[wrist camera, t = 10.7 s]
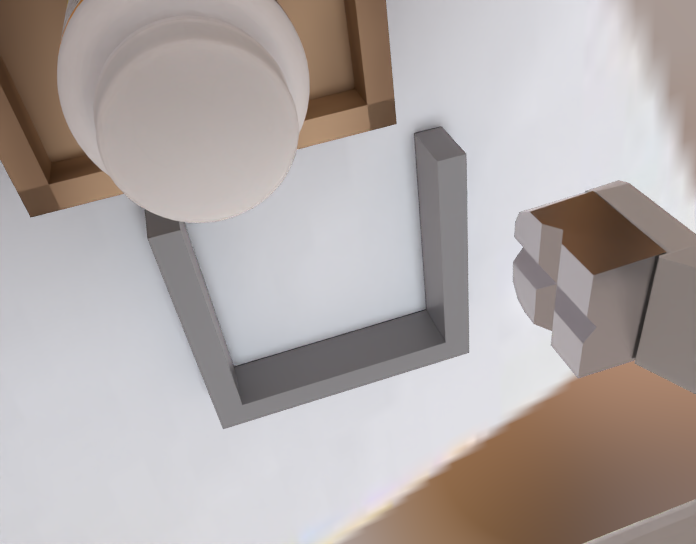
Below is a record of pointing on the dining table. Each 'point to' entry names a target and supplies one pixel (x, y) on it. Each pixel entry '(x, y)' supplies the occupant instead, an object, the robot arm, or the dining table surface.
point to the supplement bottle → (185, 100)
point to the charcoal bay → (349, 349)
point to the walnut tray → (93, 184)
